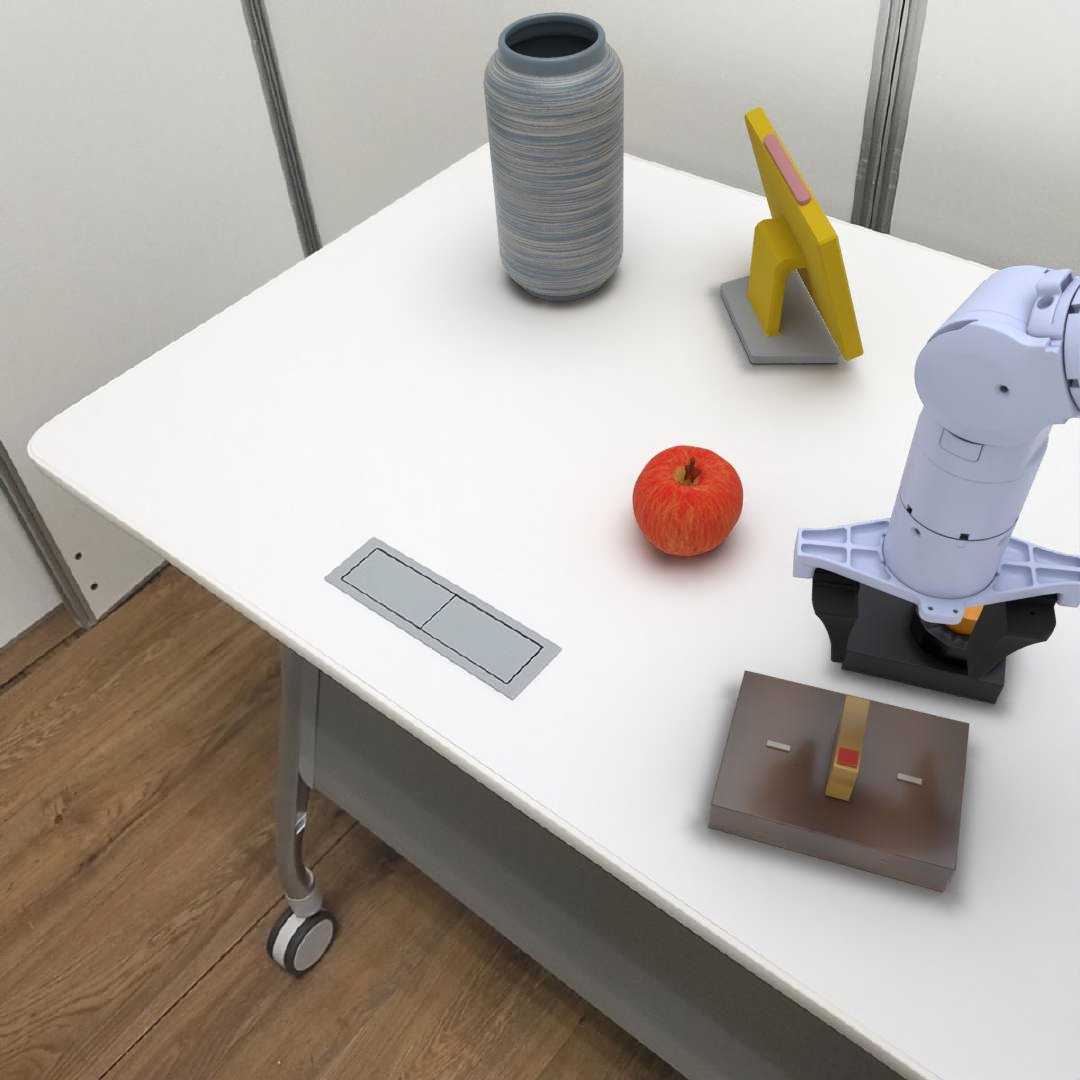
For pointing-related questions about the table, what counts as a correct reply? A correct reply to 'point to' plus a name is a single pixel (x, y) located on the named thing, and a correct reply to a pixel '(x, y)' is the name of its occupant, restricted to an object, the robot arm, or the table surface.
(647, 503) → the apple
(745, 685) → the lock plate
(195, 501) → the table surface
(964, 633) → the bell button
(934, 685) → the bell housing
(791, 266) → the toy computer monitor
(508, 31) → the vase
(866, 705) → the wooden block
